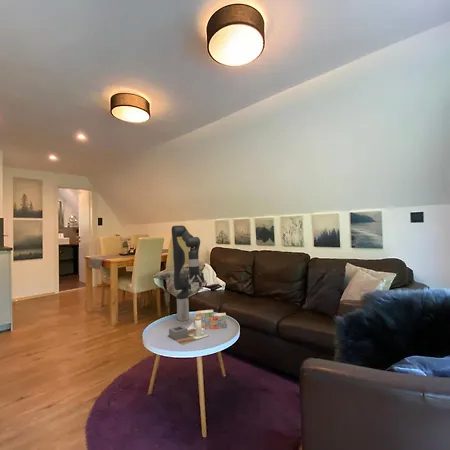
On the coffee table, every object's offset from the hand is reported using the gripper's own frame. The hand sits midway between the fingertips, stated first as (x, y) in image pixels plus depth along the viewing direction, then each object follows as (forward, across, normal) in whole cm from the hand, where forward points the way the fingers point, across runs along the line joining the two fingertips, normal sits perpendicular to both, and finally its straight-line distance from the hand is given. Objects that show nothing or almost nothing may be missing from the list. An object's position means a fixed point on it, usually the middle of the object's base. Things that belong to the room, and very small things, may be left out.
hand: (195, 288), depth 197 cm
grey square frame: (+29, +16, +2) cm, 33 cm away
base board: (+30, +11, +7) cm, 33 cm away
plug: (+28, +6, +12) cm, 31 cm away
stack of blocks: (+30, -11, +2) cm, 33 cm away
